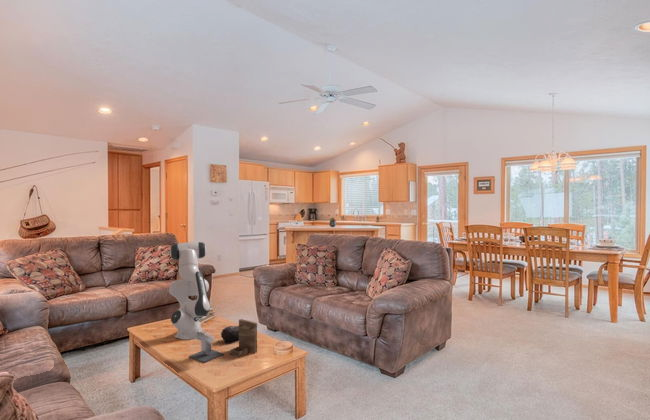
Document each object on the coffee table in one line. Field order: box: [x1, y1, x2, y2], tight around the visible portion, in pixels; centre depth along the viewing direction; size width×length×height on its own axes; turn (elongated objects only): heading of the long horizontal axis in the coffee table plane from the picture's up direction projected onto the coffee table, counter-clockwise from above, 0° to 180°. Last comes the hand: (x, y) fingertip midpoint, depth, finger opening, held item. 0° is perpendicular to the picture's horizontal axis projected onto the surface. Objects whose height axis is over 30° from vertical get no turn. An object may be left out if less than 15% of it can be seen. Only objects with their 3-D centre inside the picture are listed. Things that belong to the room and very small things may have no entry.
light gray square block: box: [200, 341, 212, 354], centre depth 218 cm, size 4×4×10 cm
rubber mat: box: [188, 348, 224, 364], centre depth 218 cm, size 14×14×1 cm
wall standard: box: [230, 318, 258, 358], centre depth 223 cm, size 12×14×18 cm
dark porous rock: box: [220, 325, 239, 344], centre depth 245 cm, size 10×18×10 cm, turn 145°
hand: (207, 342), depth 219 cm, fingers closed on light gray square block, 4 cm apart
